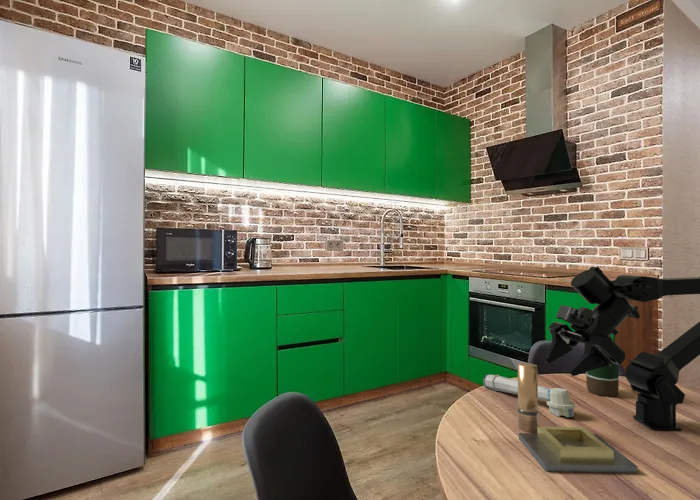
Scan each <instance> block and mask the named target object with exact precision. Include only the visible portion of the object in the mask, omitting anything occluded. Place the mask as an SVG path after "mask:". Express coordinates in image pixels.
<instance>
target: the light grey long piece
mask: <svg viewBox="0 0 700 500" xmlns="http://www.w3.org/2000/svg"><path fill="white" fill-rule="evenodd" d="M482 380H483V381H482V382H483V386H484V387H485V388H488V389H490V390H494V391H495V392H503V393H509V394H514V395H518V379H513V378H509V377H505V376H501V375H500V374H485V375H484V377H483V379H482ZM488 384H489V385H488ZM569 394H570V393H569V391H568V390H567V389H565V388H561V387H552V388H549V387H546V386H542V385H538V400H541V401H542V400H544V401H546V406H548V408H549V410H548V411H549V413H550V414H552V415H553V416H556V417H561V416H564V418H573V417H575V411H574V409H575V408H576V404H575V402H573V401H571V399H570V395H569Z"/></svg>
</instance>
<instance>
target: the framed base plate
mask: <svg viewBox="0 0 700 500" xmlns="http://www.w3.org/2000/svg"><path fill="white" fill-rule="evenodd" d="M518 440H519V441H520V442H521V443H522V445H523V446H524V447H525V448H526V449H527V451H528V452H529V453H530V455H532V456H533V457H532V458H534V459H535V460H536V461H537V463H538V464H539V465H540V466H541V468H542V469H543V470H544V471H545V472H557V473H559V472H561V473H562V472H563V473H565V472H566V473H567V472H568V473H608V474H609V473H611V474H614V473H615V474H616V473H618V474H638V471H639V469H638V465H636V464H635V463H634V462H633V461H632V460H630V459H629V458H628V457H626V456H625V455H624V454H623V453H621V452H620V451H619V450H617V449H616V448H615V447H613V446H612V445H611V444H610V443H608V442H607V441H606V440H604V438H602V437H601V436H600V435H598V434H597V433H596V434H595V433H592V432H590V431H589V430H588V429H587V428H585V427H584V426H538V427H537V432H518Z"/></svg>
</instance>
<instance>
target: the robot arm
mask: <svg viewBox="0 0 700 500" xmlns="http://www.w3.org/2000/svg"><path fill="white" fill-rule="evenodd" d="M570 285H571V287H572V288H573V289H574V290H575V291H577V293H578V294H579V295H580V296H581V297H582V298H583V299H584V301H586V302H587V303H588V304H590V305H593V304H594V305H596V307H595V306H594V307H595V308H593V309H590V308H588V307H585V306H580V307H579V308H576V307H572V306H568V305H564V304H560V307H559V308H558V310H557V313H556V316H555V318H556V319H558V320H562V321H564V322H566V323H569V325H567V324H565V323H562V322H559V321H553V322H551V324H550V325H549V326H548V327H547V329H548V330H549V334H550V335H551V343H550V346H549V349H548V351H547V353H546V356H545V358H544V362H545V363H546V364H551V363H553V362H555V361H556V360H558V359H559V358H562V357H564V356H565V355H566V354H568V353H571V352H572V351H573V350H574V347H576V346H577V345H578V344H581V345H583V346H584V352H583V353H582V354H581V355H580V356H579V358H578V360H577V361H576V362H575V364H573V365H572V368H570V370H569V374H570V375H571V376H572V377H575V376H576V377H577V376H578V375H581V374H586V372H588V371H591V370H594V369H598V368H601V367H605V366H609V365H610V366H612V365H613V363H614V364H617V365H618V366H620V365H621V364H622V363H623V362H624V361H625V360H626V352H625V351H624V350H623V349H622V348H621V346H620V345H618V343H616V342H615V340H614V339H613V338H612V337H611V338H612V339H613V340H612V339H611V338H610V337H608V336H609V335H611V336H617V334H618V333H619V331H618V330H617V328H618V326H620V324H621V323H623V322H624V321H625V319H626V318H632V319H640V316H641V315H640V313H639V306H637V305H632V304H631V303H630V302H629V301H634V302H641V303H646V302H647V303H648V302H651V301H656V300H659V299H661V298H662V297H667V296H681V295H682V296H683V295H700V276H691V277H690V276H688V277H685V276H684V277H668V278H667V277H666V278H665V277H664V278H661V277H660V278H659V277H653V276H652V277H651V276H643V275H631V274H620V275H618V276H616V279H614V280H610V278H608V276H606V275H605V273H604V272H603V270H602V269H601V268H600V267H599V266H591V267H590V268H588V269H587V270H584V271H582V272H580V273H578V274H576V275H575V276H574V277H573V278H572V279H571V282H570ZM699 356H700V321H698V322H697V323H696V324H694V325H693V326H692V327H690V328H689V329H688V330H687V331H685V332H684V333H683V334H681V335H680V336H678V337H677V338H676V339H675V340H674V341H672V342H671V343H669V345H667V346H666V347H664V348H663V349H661V351H659V352H658V353H655V354H653V353H650V352H647V351H641V352H640V353H638V354H637V355H636V356H635V358H632V359H628V360H629V361H628V362H629V364H628V365H627V366H626V367H625V379H626V380H627V382H628V383H629V386H630V388H631V391H632V392H637V400H636V401H635V414H634V415H632V418H633V419H634V420H636V421H637V422H639V423H641V424H643V425H644V426H646V427H647V428H649V429H650V430H654V431H657V430H658V431H659V430H660V431H682V430H683V428H682V426H680V425H679V424H677V405H680V404H683V403H684V400H685V397H686V394H685V393H684V392H683V391H682V390H681V389H680V388H679V386H677V385H676V384H677V383H678V381H679V377H680V371H681V370H682V369H684V368H685V367H686V366H687V365H689V364H690V363H691V362H693V361H694V360H695V359H696V358H698V357H699Z"/></svg>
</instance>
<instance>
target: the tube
mask: <svg viewBox="0 0 700 500" xmlns="http://www.w3.org/2000/svg"><path fill="white" fill-rule="evenodd" d="M538 374H539V373H538V365H537V364H534V363H529V362H519V363H517V381H518V394H517V428H518V429H519V430H521V431H523V432H525V433H537V427H539V410H538V409H539V401H538V400H539V399H538V386H539V384H538V383H539V382H538V380H539V379H538V377H539V375H538Z"/></svg>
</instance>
